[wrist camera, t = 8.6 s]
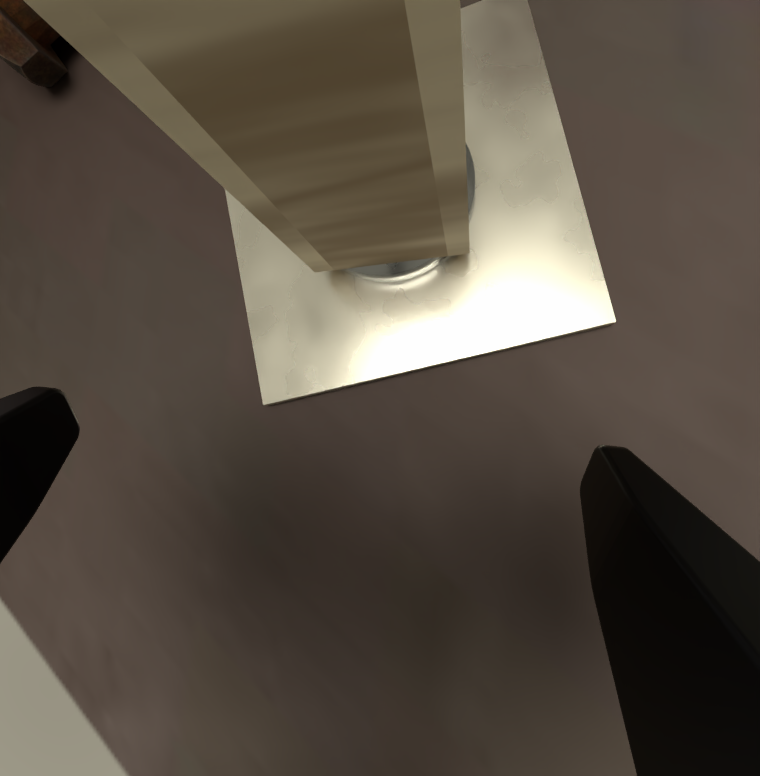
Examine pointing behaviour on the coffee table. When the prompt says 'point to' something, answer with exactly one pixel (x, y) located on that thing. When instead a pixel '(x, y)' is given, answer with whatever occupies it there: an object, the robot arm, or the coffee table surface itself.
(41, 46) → the bolt
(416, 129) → the sleeve
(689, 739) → the robot arm
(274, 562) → the coffee table surface
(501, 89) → the square metal plate
